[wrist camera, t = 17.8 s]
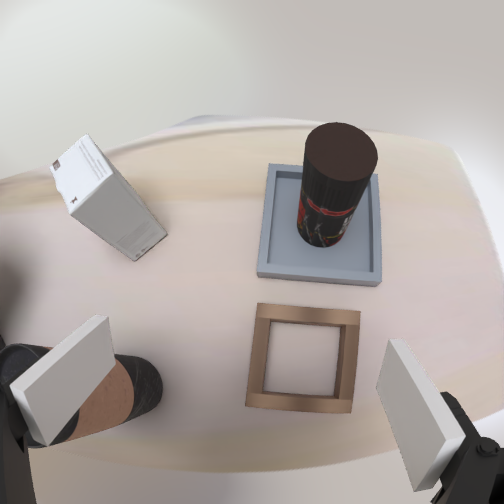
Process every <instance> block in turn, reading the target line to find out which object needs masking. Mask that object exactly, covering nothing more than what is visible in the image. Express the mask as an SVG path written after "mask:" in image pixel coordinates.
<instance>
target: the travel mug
mask: <svg viewBox="0 0 504 504" xmlns="http://www.w3.org/2000/svg"><path fill="white" fill-rule="evenodd" d="M52 349H53V348H52V347H43V346H35V345H28V344H11V345H9V346H7V347H5V348H4V349H2V350H1V352H0V380H1V383H2V385H3V384H5V383H6V382H7V381H8V380H9V379H11V378H12V377H13V376H14V375H15V374H17V373H18V372H19V371H21V369H23V368H24V367H25V366H27V364H29V363H30V362H31V361H32V360H33V359H35V358H38V357H40V356H42V355H46V354H47V353H48V352H49V351H51V350H52ZM114 357H115V362H116V365H115V366H114V367H113V368H112V369H111V370H110V372H109V373H108V374H107V375H106V376H105V378H104V379H103V380H102V381H101V382H100V384H99V385H98V386H97V387H96V388H95V390H94V391H93V392H92V393H91V394H90V396H89V397H88V398H87V399H86V400H85V402H84V403H83V404H82V405H81V406H80V408H79V409H78V410H77V411H76V413H75V414H74V415H73V416H72V417H71V419H70V420H69V421H68V422H67V424H66V425H65V426H64V427H63V429H62V430H61V431H60V432H59V433H58V435H57V436H56V437H55V438H54V440H53V441H52V442H51V443H50V445H49V446H51V445H55V444H59V443H62V442H66V441H70V440H73V439H77V438H80V437H83V436H87V435H90V434H93V433H97V432H100V431H103V430H106V429H109V428H112V427H115V426H118V425H120V424H122V423H124V422H127V421H129V420H131V419H133V418H136V417H138V416H140V415H142V414H144V413H147V412H149V411H150V410H152V409H153V408H154V407H155V406H156V405H157V404H158V402H159V401H160V398H161V395H162V381H161V378H160V375H159V373H158V371H157V370H156V369H155V367H154V366H153V365H152V364H151V363H149V362H148V361H146V360H144V359H142V358H139V357H134V356H126V355H118V354H114ZM25 436H26V439H27V445H28V448H43V447H47V446H45V445H43V444H41V443H39V442H37V441H35V440H34V439H33V437H32V435H31V433H30V431H29V430H28V431H27V432H26V433H25Z"/></svg>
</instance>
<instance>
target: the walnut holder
mask: <svg viewBox="0 0 504 504" xmlns="http://www.w3.org/2000/svg"><path fill="white" fill-rule="evenodd" d="M360 312H361V311H351V310H336V309H323V308H310V307H298V306H286V305H275V304H265V303H257V311H256V319H255V328H254V337H253V345H252V353H251V362H250V370H249V378H248V387H247V395H246V403H245V406H248V407H257V408H266V409H276V410H287V411H301V412H318V413H351V409H352V402H353V394H354V385H355V376H356V366H357V355H358V343H359V329H360ZM271 321H272V322H283V323H294V324H306V325H319V326H334V327H341V329H340V341H339V353H338V363H337V373H336V382H335V391H334V396H320V395H303V394H290V393H278V392H268V391H263V384H264V376H265V368H266V359H267V350H268V342H269V333H270V324H271Z"/></svg>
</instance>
